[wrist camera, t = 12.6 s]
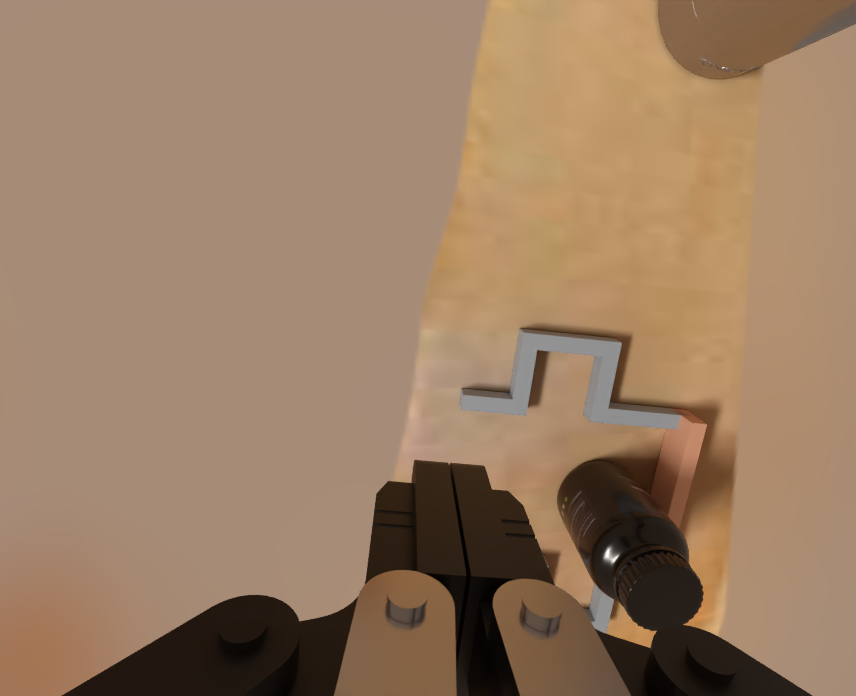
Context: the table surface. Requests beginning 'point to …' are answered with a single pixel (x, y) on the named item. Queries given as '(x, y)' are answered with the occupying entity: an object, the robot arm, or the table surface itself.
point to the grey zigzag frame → (679, 423)
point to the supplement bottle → (629, 545)
